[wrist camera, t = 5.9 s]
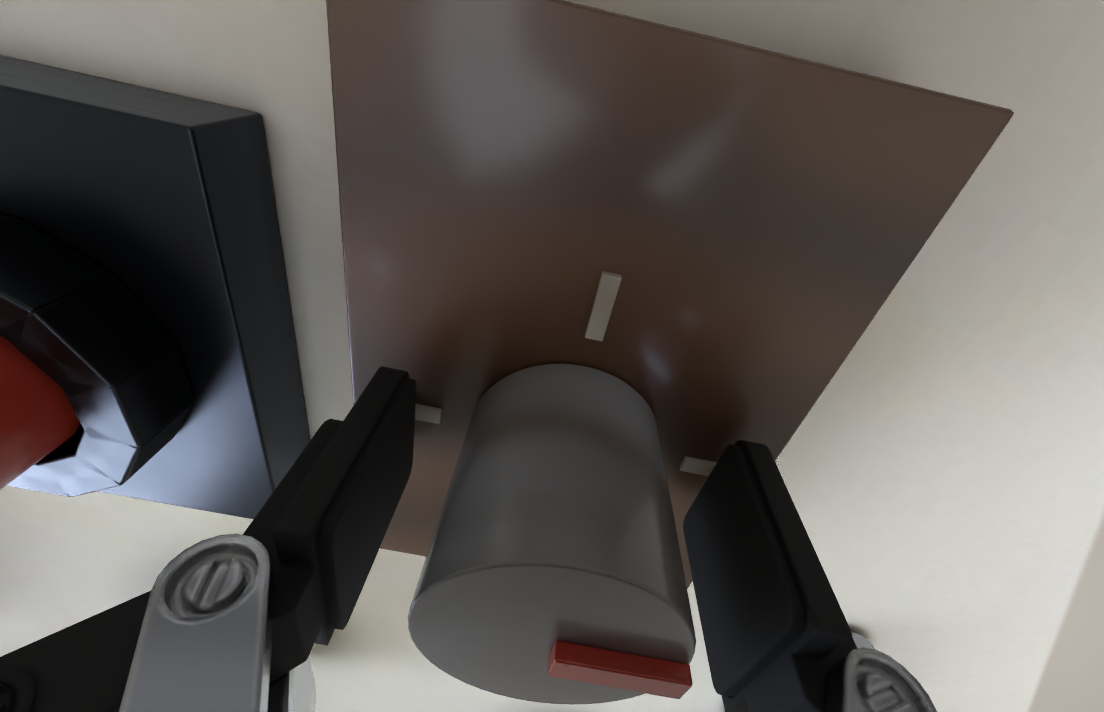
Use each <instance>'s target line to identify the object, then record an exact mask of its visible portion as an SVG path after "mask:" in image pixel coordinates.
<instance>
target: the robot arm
mask: <svg viewBox="0 0 1104 712" xmlns="http://www.w3.org/2000/svg"><path fill="white" fill-rule="evenodd" d="M415 405H416V380H413V379H409V374H408V372H407V371H403V370H398V369H393V368H388V367H383V366H381V367H380V368H379V369H378V370H377V371H376V373H375V374H374V376H373V377H372V379H371V380H370V382H369V383H368V385H367V386H366V388H365V389H364V391H363V392H362V394H361V395H360V397H359V398H358V400H357V401H356V403H355V404H354V406H353V407H352V409H351V410H350V412H349V413H348V415H347V416H346V418H345V419H344V421H339V420H334V419H328V420H327V421H325V422H324V423H323V424H322V425H321V427H320V428H319V429H318V431H317V432H316V433H315V435H314V436H313V438H312V439H311V440H310V442H309V443H308V445H307V446H306V447H305V449H304V450H303V452H302V453H301V454H300V456H299V457H298V458H297V460H296V461H295V463H294V464H293V465H292V467H291V468H290V470H289V471H288V472H287V474H286V475H285V477H284V478H283V479H282V481H281V482H280V484H279V485H278V486H277V488H276V489H275V491H274V492H273V493H272V495H271V496H270V497H269V499H268V500H267V502H266V503H265V504H264V506H263V507H262V509H261V510H260V511H259V513H258V514H257V516H256V517H255V518H254V520H253V521H252V523H251V524H250V525H249V527H248V528H247V530H246V531H245V532H244V534H243V535H240V534H230V535H219V536H216V537H213V538H209V539H206V540H203V541H201V542H199V543H197V544H195V545H193V546H191V547H189V548H187V549H185V550H184V551H183V552H182V553H180V554H179V555H178V556H176V557H175V558H174V559H173V560H171V561H170V562H169V563H168V565H167V566H166V567H165V568H164V569H163V571H162V572H161V573H160V574H159V575H158V577H157V579H156V581H155V584H154V586H153V588H152V590H151V591H149V592H147V593H144V594H142V595H140V596H138V597H135V598H133V599H131V600H128V601H126V602H124V603H122V604H119V605H117V606H115V607H113V608H110V609H108V610H106V611H104V612H101V613H99V614H97V615H94V616H92V617H90V618H88V619H85V620H83V621H81V622H79V623H76V624H74V625H72V626H70V627H67V628H65V629H63V630H61V631H58V632H56V633H54V634H51V635H49V636H47V637H45V638H42V639H40V640H38V641H36V642H33V643H31V644H29V645H27V646H24V647H22V648H20V649H17V650H15V651H13V652H11V653H8V654H6V655H4V656H2V657H0V712H292V710H293V674H294V668H295V667H297V666H299V665H300V664H302V663H304V662H305V661H306V660H307V658H308V656H309V654H310V652H311V650H312V647H313V645H314V643H316V644H322V645H328V643H329V641H330V639H331V636H332V634H333V632H334V630H335V629H341V630H343V629H344V628H345V627H346V625H347V623H348V621H349V619H350V616H351V614H352V612H353V609H354V607H355V605H356V602H357V600H358V598H359V595H360V593H361V591H362V588H363V586H364V583H365V581H366V579H367V576H368V574H369V572H370V569H371V567H372V565H373V562H374V560H375V557H376V555H377V553H378V550H379V548H380V546H381V543H382V541H383V539H384V536H385V534H386V532H387V529H388V527H389V524H390V522H391V520H392V517H393V515H394V513H395V510H396V508H397V506H398V503H399V501H400V499H401V496H402V494H403V491H404V489H405V487H406V484H407V482H408V480H409V477H410V474H411V470H412V465H413V449H414V427H415ZM683 532H684V537H685V543H686V548H687V553H688V558H689V563H690V568H691V574H692V579H693V584H694V589H695V594H696V599H697V605H698V610H699V615H700V620H701V625H702V630H703V635H704V641H705V646H706V651H707V656H708V661H709V666H710V672H711V677H712V682H713V685H714V688H715V690H716V692H717V693H718V694H720V695H722V698H723V703H724V708H725V712H937V711H936V709H935V707H934V705H933V703H932V701H931V699H930V697H929V696H928V694H927V693H926V691H925V690H924V689H923V687H922V686H921V685H920V683H919V682H918V681H917V679H916V678H915V677H914V676H912V675H911V674H910V673H909V672H908V671H907V670H906V669H905V668H904V667H903V666H902V665H901V664H899V663H898V662H897V661H895V660H894V659H893V658H891V657H890V656H888V655H886V654H884V653H882V652H880V651H878V650H875V649H870V648H865V647H862V648H857V646H856V644H855V641H854V639H853V637H852V635H853V634H852V632H851V630H850V628H849V626H848V623H847V621H846V619H845V617H844V614H843V612H842V610H841V608H840V605H839V603H838V601H837V599H836V597H835V594H834V592H833V590H832V588H831V585H830V583H829V581H828V579H827V577H826V574H825V572H824V570H823V568H822V565H821V563H820V561H819V559H818V557H817V554H816V552H815V550H814V548H813V545H812V543H811V541H810V539H809V537H808V534H807V532H806V530H805V528H804V525H803V523H802V521H801V519H800V517H799V514H798V512H797V510H796V508H795V505H794V503H793V501H792V499H791V496H790V494H789V492H788V490H787V488H786V485H785V483H784V481H783V479H782V476H781V474H780V472H779V470H778V468H777V465H776V463H775V461H774V459H773V456H772V454H771V452H770V450H769V448H768V447H767V446H766V445H764V444H760V443H755V442H750V441H745V440H738V441H736V442H735V443H734V445H732V444H729V445H728V446H727V447H726V448H725V450H724V451H723V453H722V455H721V457H720V458H719V460H718V462H717V463H716V465H715V467H714V468H713V470H712V472H711V473H710V475H709V477H708V478H707V480H706V482H705V483H704V485H703V487H702V488H701V490H700V492H699V493H698V495H697V497H696V498H695V500H694V502H693V503H692V505H691V507H690V508H689V510H688V512H687V513H686V515H685V518H684V522H683Z"/></svg>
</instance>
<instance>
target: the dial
mask: <svg viewBox="0 0 1104 712" xmlns="http://www.w3.org/2000/svg"><path fill="white" fill-rule="evenodd" d="M408 629H409V632H410V635H411V638H412V640H413V642H414V644H415V645H416V647H417V648H418V649H419V651H420V652H421V653H422V654H423V655H424V656H425V657H426V658H427V659H428V660H429V661H430V662H431V663H432V664H434V665H435V666H437V667H438V668H439V669H441V670H442V671H444V672H446V673H447V674H449V675H451V676H453V677H454V678H457V679H459V680H461V681H463V682H465V683H467V684H470V685H472V686H475V687H477V688H480V689H483V690H486V691H489V692H492V693H495V694H499V695H503V696H507V697H511V698H516V699H521V700H527V701H534V702H542V703H553V704H593V703H604V702H611V701H618V700H623V699H627V698H632V697H635V696H639V695H642V694H645V693H647V694H653V695H658V696H664V697H670V698H676V699H680V698H681V697H682V696H683V695H684V694H685V693H686V692H687V691H688V690H689V689H690V687H691V686H692V678H691V672H690V666H689V664H690V662H691V660H692V657H693V655H694V652H695V645H696V638H695V632H694V626H693V621H692V615H691V609H690V604H689V598H688V593H687V587H686V581H685V576H684V570H683V565H682V559H681V554H680V548H679V542H678V537H677V531H676V526H675V520H674V514H673V509H672V503H671V498H670V492H669V487H668V481H667V475H666V470H665V464H664V459H663V453H662V447H661V442H660V436H659V431H658V425H657V422H656V419H655V416H654V414H653V412H652V410H651V408H650V407H649V405H648V404H647V402H646V401H645V400H644V399H643V397H642V396H641V395H640V394H639V393H638V392H636V391H635V390H634V389H633V388H632V387H631V386H629V385H628V384H627V383H625V382H624V381H622V380H620V379H618V378H617V377H615V376H613V375H611V374H608V373H606V372H603V371H601V370H598V369H594V368H590V367H587V366H581V365H574V364H545V365H539V366H533V367H530V368H526V369H523V370H520V371H517V372H515V373H513V374H510V375H508V376H507V377H505V378H503V379H501V380H500V381H498V382H497V383H496V384H494V385H493V386H492V387H491V388H489V390H488V391H487V392H486V393H485V394H484V395H483V396H482V397H481V399H480V400H479V402H478V403H477V405H476V407H475V410H474V412H473V414H472V418H471V421H470V424H469V427H468V430H467V433H466V436H465V439H464V442H463V445H462V448H461V452H460V455H459V458H458V461H457V464H456V467H455V470H454V473H453V476H452V479H451V482H450V485H449V489H448V492H447V495H446V498H445V501H444V504H443V507H442V510H441V513H440V516H439V519H438V523H437V526H436V529H435V532H434V535H433V538H432V541H431V544H430V547H429V550H428V553H427V556H426V560H425V563H424V566H423V569H422V572H421V575H420V578H419V581H418V584H417V587H416V590H415V594H414V597H413V600H412V603H411V606H410V609H409V614H408Z"/></svg>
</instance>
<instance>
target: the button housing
mask: <svg viewBox="0 0 1104 712" xmlns="http://www.w3.org/2000/svg"><path fill="white" fill-rule="evenodd" d="M0 336H1V337H3V338H5V339H6V340H7V341H8V342H10V343H11V344H12V345H13V346H14V347H15V348H16V349H18V350H19V351H20V352H21V353H22V354H23V355H24V356H26V357H27V358H28V359H29V360H30V361H31V362H32V363H34V364H35V365H36V366H37V367H38V368H39V369H40V370H42V371H43V372H44V373H45V374H46V375H47V376H48V377H50V378H51V379H52V380H53V381H54V382H55V383H56V384H57V385H59V386H60V387H61V388H62V390H63V392H64V393H65V395H66V397H67V399H68V401H69V403H70V405H71V407H72V408H73V410H74V412H75V414H76V416H77V418H78V420H79V422H80V425H79V427H78V429H77V431H76V433H75V434H74V435H73V436H72V437H71V438H69V439H68V440H67V441H65V442H64V443H63V444H61V445H60V446H59V447H57V448H56V449H54V450H53V451H52V452H50V453H49V454H48V455H46V456H45V457H44V458H42V459H41V460H40V461H38V462H37V463H36V464H34V465H33V466H32V467H30V468H29V469H28V470H26V471H25V472H24V473H22V474H21V475H20V476H18V477H17V478H16V479H14V480H13V481H11V482H10V483H9V484H7V485H6V486H12V487H18V488H23V489H29V490H35V491H40V492H46V493H52V494H57V495H63V496H68V497H69V496H72V497H73V496H77V495H82V494H86V493H90V492H95V491H99V492H104V493H110V494H115V495H121V496H127V497H132V498H138V499H143V500H149V501H155V502H160V503H166V504H171V505H177V506H183V507H188V508H194V509H199V510H205V511H211V512H216V513H222V514H227V515H233V516H239V517H244V518H250V519H254V518H255V517H256V516H257V514H258V513H259V511H260V510H261V509H262V507H263V506H264V504H265V503H266V502H267V500H268V499H269V497H270V496H271V495H272V493H273V492H274V491H275V489H276V488H277V486H278V485H279V484H280V482H281V481H282V479H283V478H284V477H285V475H286V474H287V472H288V471H289V470H290V468H291V467H292V465H293V464H294V463H295V461H296V460H297V458H298V457H299V456H300V454H301V453H302V452H303V450H304V449H305V447H306V446H307V445H308V443H309V442H310V439H309V432H308V426H307V419H306V412H305V405H304V398H303V392H302V385H301V378H300V371H299V365H298V358H297V351H296V344H295V338H294V331H293V324H292V317H291V311H290V304H289V297H288V290H287V283H286V277H285V270H284V263H283V256H282V250H281V243H280V236H279V229H278V223H277V216H276V209H275V202H274V195H273V189H272V182H271V175H270V168H269V162H268V155H267V148H266V141H265V135H264V128H263V121H262V116H261V114H259V113H256V112H251V111H247V110H242V109H238V108H233V107H229V106H224V105H220V104H216V103H211V102H207V101H202V100H198V99H193V98H189V97H184V96H180V95H175V94H171V93H166V92H162V91H157V90H153V89H148V88H144V87H140V86H135V85H131V84H126V83H122V82H117V81H113V80H108V79H104V78H99V77H95V76H90V75H86V74H81V73H77V72H72V71H68V70H64V69H59V68H55V67H50V66H46V65H41V64H37V63H32V62H28V61H23V60H19V59H14V58H10V57H5V56H1V55H0Z"/></svg>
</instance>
